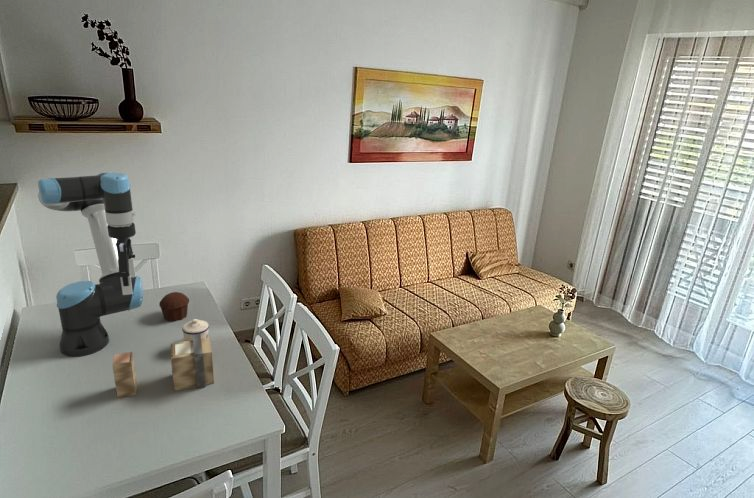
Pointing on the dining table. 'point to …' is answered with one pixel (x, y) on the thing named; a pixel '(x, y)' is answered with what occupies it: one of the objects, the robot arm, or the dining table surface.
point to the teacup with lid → (195, 329)
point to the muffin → (174, 306)
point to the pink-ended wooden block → (124, 374)
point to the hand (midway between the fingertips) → (129, 285)
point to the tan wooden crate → (192, 363)
